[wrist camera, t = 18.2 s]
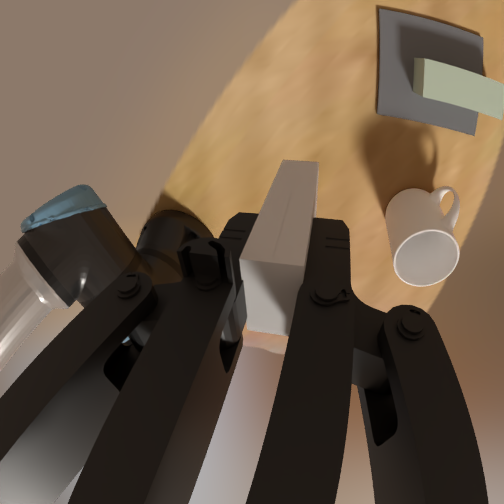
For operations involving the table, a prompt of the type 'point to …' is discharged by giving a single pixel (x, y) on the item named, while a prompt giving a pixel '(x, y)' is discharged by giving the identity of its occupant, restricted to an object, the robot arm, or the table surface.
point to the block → (458, 87)
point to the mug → (422, 235)
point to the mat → (402, 68)
